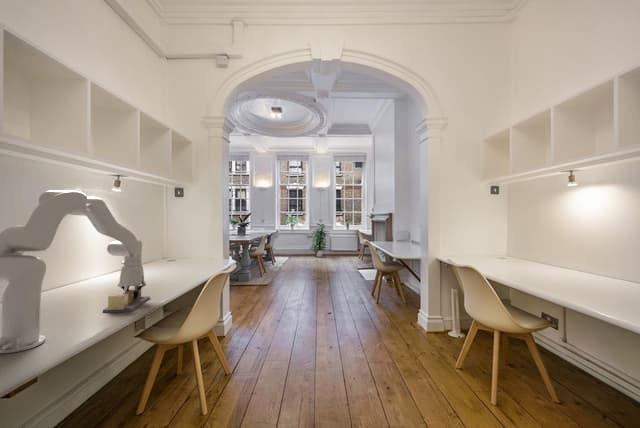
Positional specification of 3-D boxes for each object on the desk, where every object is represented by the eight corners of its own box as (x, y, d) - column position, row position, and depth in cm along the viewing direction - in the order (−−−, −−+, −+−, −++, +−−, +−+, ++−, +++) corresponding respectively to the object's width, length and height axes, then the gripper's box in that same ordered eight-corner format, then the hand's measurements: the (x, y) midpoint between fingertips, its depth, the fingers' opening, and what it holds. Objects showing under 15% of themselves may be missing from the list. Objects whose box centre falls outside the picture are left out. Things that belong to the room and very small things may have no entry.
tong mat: (130, 311, 136) (130, 309, 136) (102, 312, 134) (102, 310, 134) (149, 298, 158) (149, 296, 158) (125, 299, 156) (125, 296, 156)
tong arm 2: (127, 304, 142) (128, 294, 143) (124, 304, 142) (124, 294, 142) (141, 296, 157) (141, 286, 157) (137, 296, 157) (138, 286, 157)
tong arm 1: (124, 304, 142) (124, 294, 142) (120, 304, 142) (121, 294, 142) (137, 296, 157) (138, 286, 157) (134, 296, 157) (135, 287, 157)
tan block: (123, 309, 135) (124, 296, 135) (107, 309, 134) (108, 296, 134) (127, 306, 139) (128, 293, 139) (112, 307, 138) (112, 294, 138)
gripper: (111, 264, 145) (110, 301, 145) (146, 264, 148) (145, 300, 147) (119, 262, 152) (118, 296, 152) (152, 262, 155) (151, 296, 155)
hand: (131, 298), depth 150 cm, fingers open, 3 cm apart
